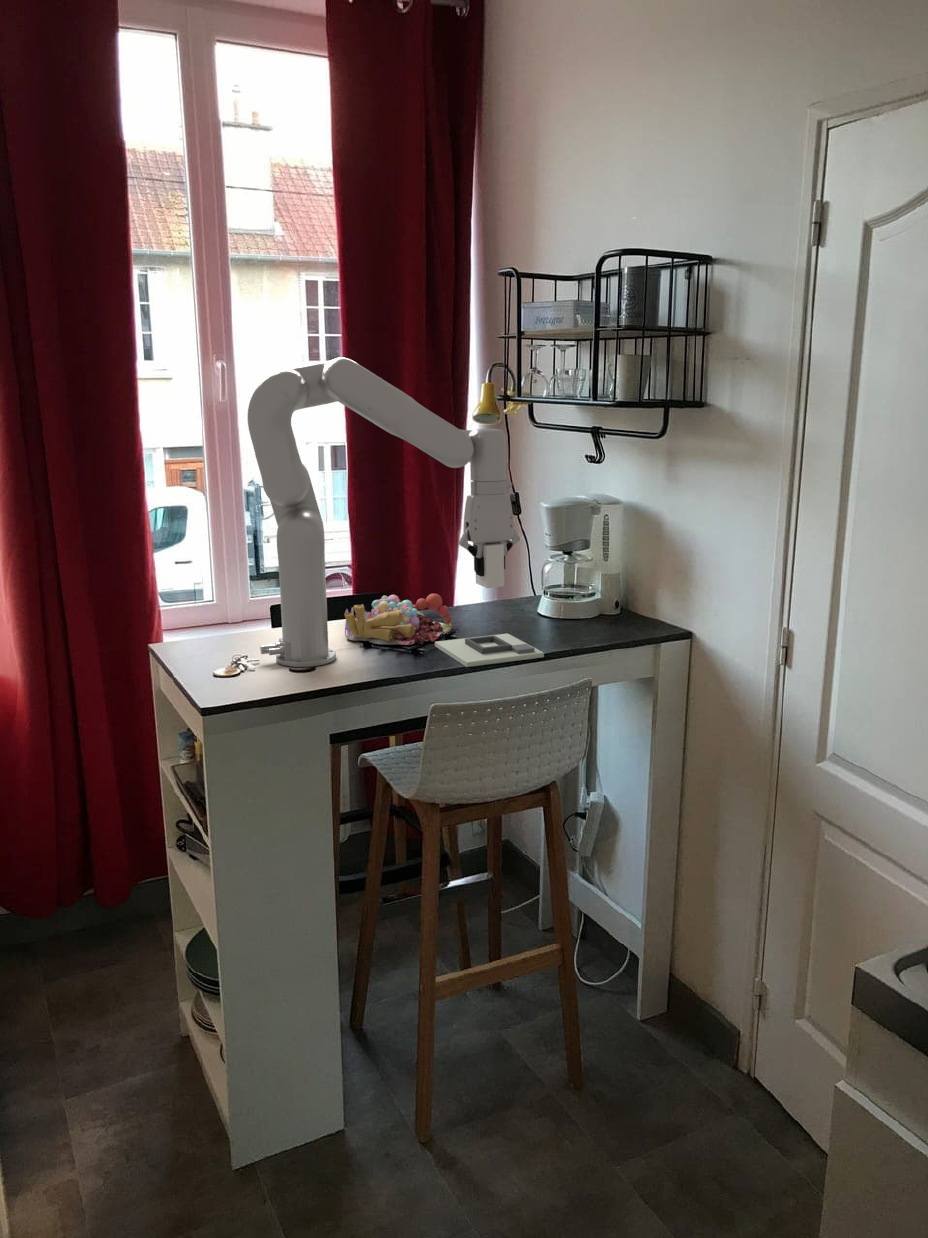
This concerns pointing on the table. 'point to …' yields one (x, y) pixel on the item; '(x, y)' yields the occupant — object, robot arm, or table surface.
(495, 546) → the plug
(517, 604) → the table surface
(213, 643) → the table surface
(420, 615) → the candy landscape model
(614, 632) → the table surface
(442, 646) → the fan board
